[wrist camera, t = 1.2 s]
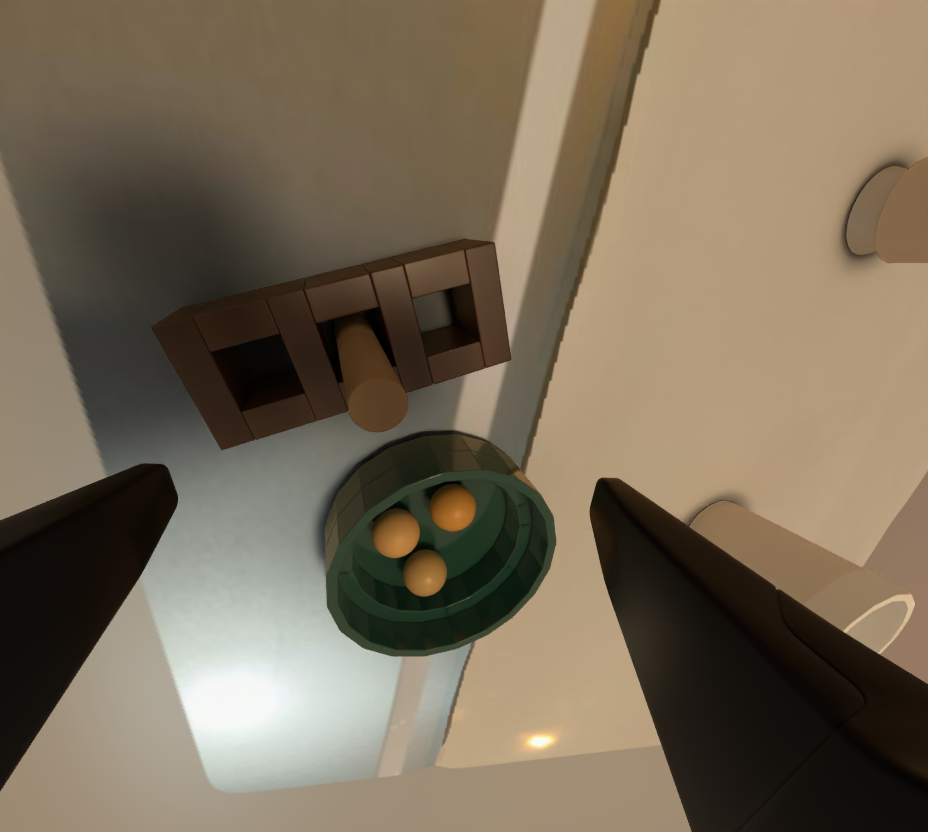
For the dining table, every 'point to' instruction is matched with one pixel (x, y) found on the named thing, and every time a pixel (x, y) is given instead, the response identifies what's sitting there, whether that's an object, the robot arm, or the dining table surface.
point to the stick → (368, 376)
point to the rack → (299, 322)
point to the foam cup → (810, 574)
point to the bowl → (436, 547)
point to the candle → (892, 215)
